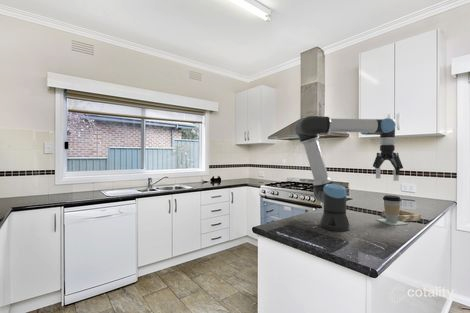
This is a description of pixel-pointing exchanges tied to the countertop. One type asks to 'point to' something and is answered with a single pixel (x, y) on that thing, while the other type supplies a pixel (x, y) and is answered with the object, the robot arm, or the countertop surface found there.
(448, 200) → the countertop surface
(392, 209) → the coffee cup
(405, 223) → the coaster
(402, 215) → the holder
